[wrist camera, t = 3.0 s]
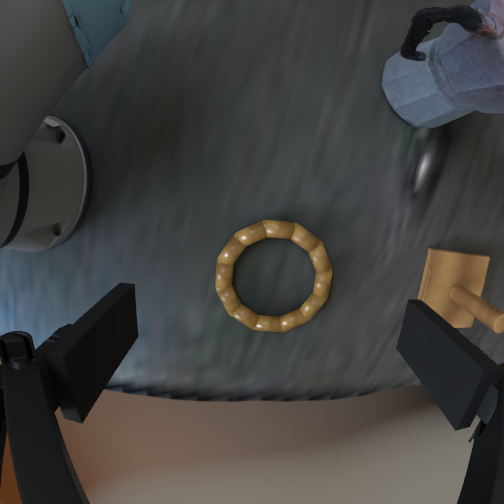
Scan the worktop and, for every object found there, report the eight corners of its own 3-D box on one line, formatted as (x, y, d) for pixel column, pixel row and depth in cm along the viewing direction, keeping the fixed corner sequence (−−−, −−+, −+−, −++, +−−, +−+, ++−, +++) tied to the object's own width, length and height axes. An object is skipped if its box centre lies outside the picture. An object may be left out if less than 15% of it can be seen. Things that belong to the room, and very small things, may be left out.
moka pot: (474, 136, 28) (613, 128, 9) (354, 134, 29) (486, 87, 9) (460, 59, 26) (579, 8, 6) (339, 46, 26) (425, -73, 7)
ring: (214, 322, 33) (212, 328, 31) (220, 214, 30) (219, 216, 29) (319, 330, 33) (322, 337, 32) (336, 225, 31) (340, 228, 29)
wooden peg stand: (410, 324, 33) (453, 369, 23) (428, 247, 31) (483, 274, 21) (466, 323, 33) (512, 361, 23) (484, 254, 31) (540, 279, 21)
